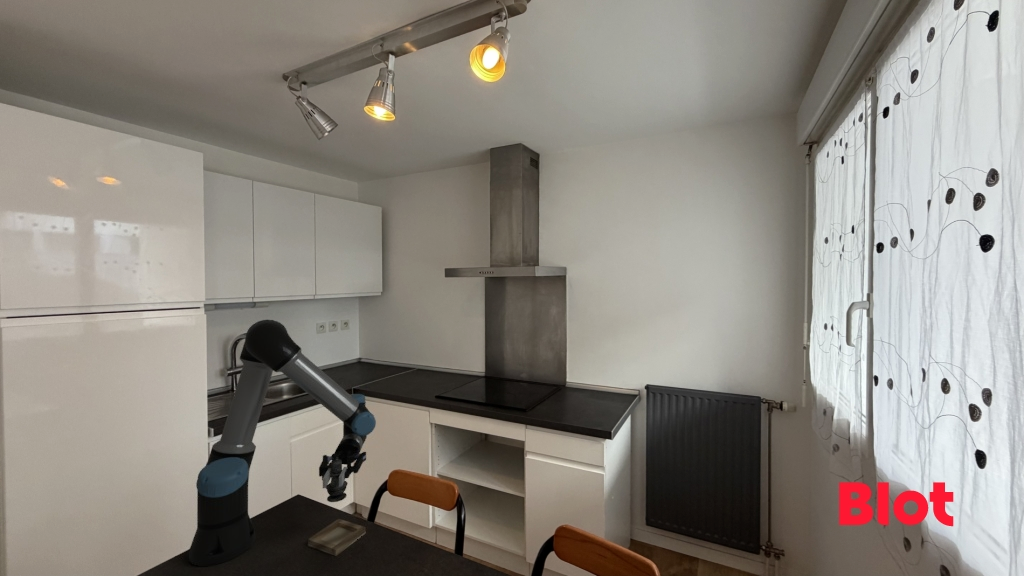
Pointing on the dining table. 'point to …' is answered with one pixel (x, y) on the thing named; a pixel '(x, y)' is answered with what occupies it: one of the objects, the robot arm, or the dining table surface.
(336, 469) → the dark grey tall figure
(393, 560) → the dining table surface
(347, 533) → the square wooden tray
